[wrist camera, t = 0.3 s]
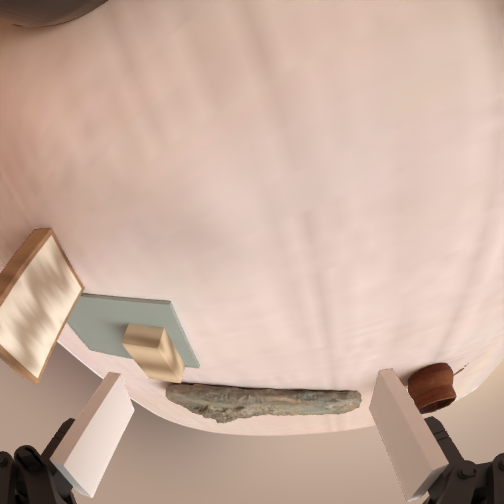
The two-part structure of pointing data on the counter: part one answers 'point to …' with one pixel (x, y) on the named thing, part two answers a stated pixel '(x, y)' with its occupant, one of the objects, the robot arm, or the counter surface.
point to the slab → (35, 303)
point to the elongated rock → (259, 401)
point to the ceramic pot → (432, 387)
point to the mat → (125, 323)
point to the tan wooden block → (154, 352)
